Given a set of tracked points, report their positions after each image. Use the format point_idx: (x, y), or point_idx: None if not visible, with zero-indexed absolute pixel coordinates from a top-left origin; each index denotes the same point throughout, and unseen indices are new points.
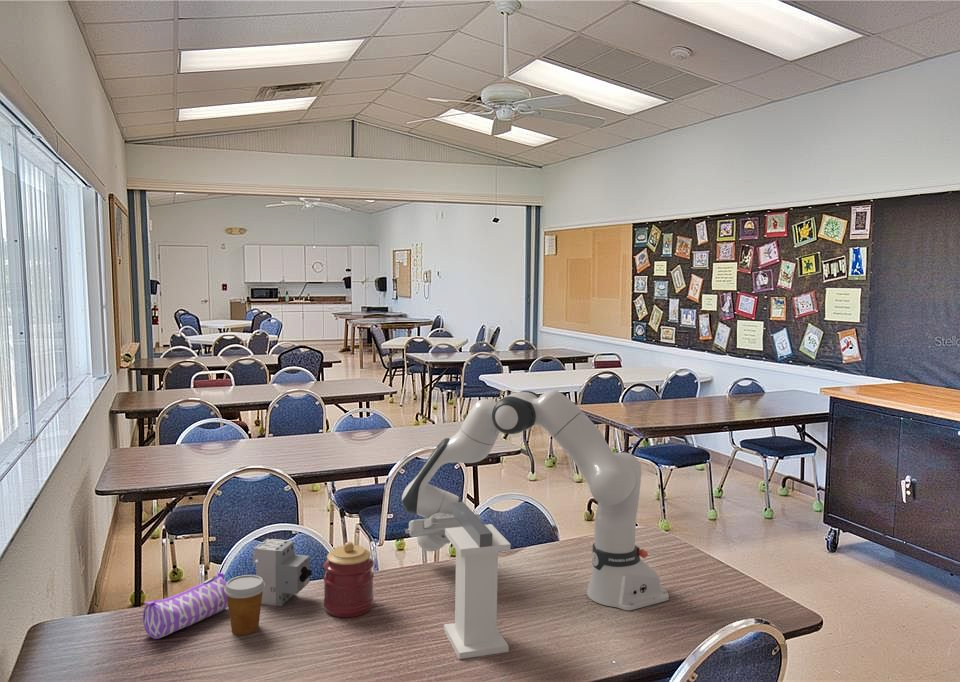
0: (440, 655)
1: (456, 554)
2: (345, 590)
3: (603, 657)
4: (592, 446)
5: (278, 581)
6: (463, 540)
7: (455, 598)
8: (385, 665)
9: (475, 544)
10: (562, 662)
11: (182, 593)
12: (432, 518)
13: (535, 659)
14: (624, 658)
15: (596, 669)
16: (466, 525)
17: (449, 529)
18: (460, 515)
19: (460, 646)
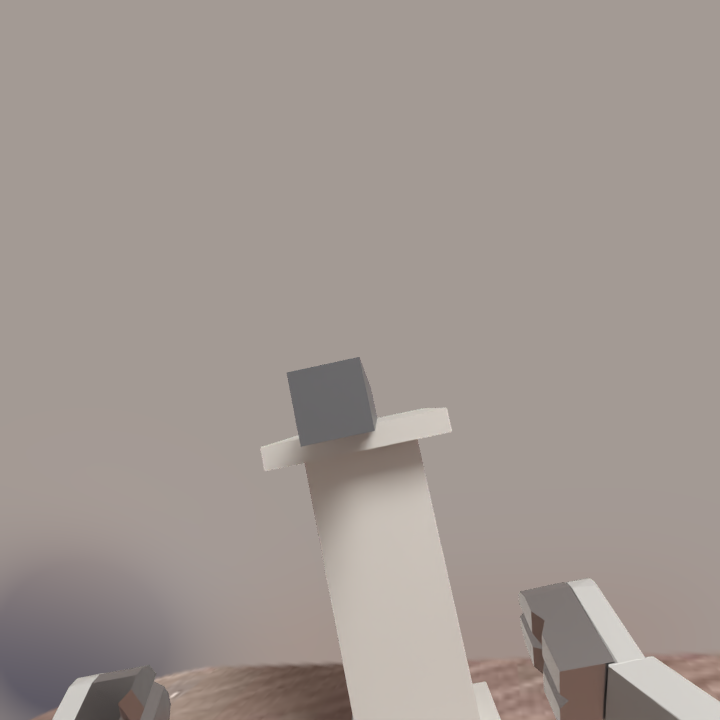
0: (544, 715)
1: (428, 491)
2: None
3: (177, 705)
4: None
5: None
6: (404, 413)
7: (467, 665)
8: (696, 678)
9: (381, 417)
10: (265, 691)
11: None
12: (565, 584)
13: (311, 700)
14: None
15: (225, 675)
16: (372, 401)
17: (431, 410)
18: (368, 387)
19: (481, 705)
